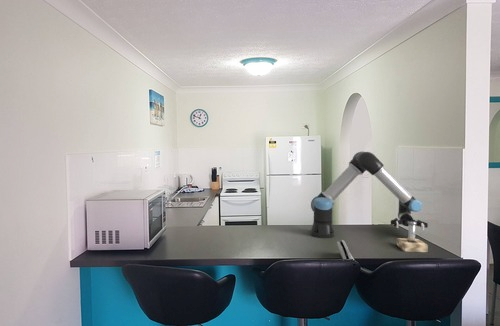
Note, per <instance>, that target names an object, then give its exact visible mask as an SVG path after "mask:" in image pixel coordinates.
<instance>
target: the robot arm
mask: <svg viewBox="0 0 500 326" xmlns="http://www.w3.org/2000/svg"><path fill="white" fill-rule="evenodd" d="M366 171H367V172H368V173H369V174H370V175H371V176H375V177H376V179H377V180H378V181H380V183H382V184H383V186H385V187H386V189H388V191H390V192H391V194H393V195H394V196H395V197H396V198H397V200H398V212H397V217H395V218H393V219H391V220H390V225H391V226H393V227H396V228H397V229H399V225H402V226H405V227H409V224H408V221H414V222H417V225H416V226H417V227H420V228H421V230H422V231H425V229H427V228H428V227H429V226H428V225H429V223H428V222H426V221H422V220H420V219H417V220H416V219H414V218H413V216H412V212H413V213H417V212H420V211H421V210H422V208H423V204H422V202H421V201H420V200H418V199H416V198H415V197H414V196H413V195H412V193H410V192H409V191H408V190H407V189H406V187H404V185H402V184H401V183H400V181H398V180H397V179H396V178H395V177H394V176H393V175H392V174H391V173H390V172H389V170H387V169H386V168H385V165H384V164H383V162H382V161H381V160H380V159H379V158H378V157H377V156H376V155H375V154H374V153H372V152H370V151H359V152H356V153H355V154H354V155H353V157H352V159H351V160H350V161H349V162H348V166H347V167H346V169H345V170H344V171H343V172H342V173H341V174H339V176H338V177H337V178H336V179H335V180H334V181H333V182H332V183H331V184H330V185H329V187H328V188H326V190H324V191H321V192H320V193H319V194H318V195H317V196H315V197H313V198H312V199H311V202H310V209H311V211H312V212H313V223H312V226H311V229H310V236H313V237H316V238H320V239H321V238H323V239H325V238H326V239H327V238H334V237H335V230H334V225H333V205H334V204H335V200H336V199H337V198H338V197H339V196H340V195H341V194H342V193H343V192H344V190H346V188H348V187H349V185H350V184H351V183H352V182H353V181H354V180H355V179H356V178H357V177H358V176H361V175H363V174H364V173H365V172H366Z"/></svg>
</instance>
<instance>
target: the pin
mask: <svg viewBox="0 0 500 326" xmlns="http://www.w3.org/2000/svg"><path fill="white" fill-rule="evenodd" d="M408 224H409V226H408V234H407V235H408V236H407V238H408V242H409V243H415V239H416V225H417V222H414V221H408Z"/></svg>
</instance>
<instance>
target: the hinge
mask: <svg viewBox="0 0 500 326" xmlns="http://www.w3.org/2000/svg"><path fill="white" fill-rule="evenodd" d="M336 245H337V248H338V252H339V253H340V256H341V258H342V260H343V259H353V260H355V259H354V257H353V256H352V254H351V252H350V250H349V247H348V245H347V243H346V241H345V240H343V239H341V240H340V241H339V240H338V241H336Z"/></svg>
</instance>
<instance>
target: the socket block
mask: <svg viewBox="0 0 500 326" xmlns="http://www.w3.org/2000/svg"><path fill="white" fill-rule="evenodd" d="M396 246H398V248H400V249H401V250H402V251H404V252H413V253H416V252H417V253H428V251H429V245H428V244H427V242H424V241H422V240H421V239H419V238H415V243H409V242H408V237H407V238H406V237H405V238H401V237H399V238H398V237H397V238H396Z"/></svg>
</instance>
